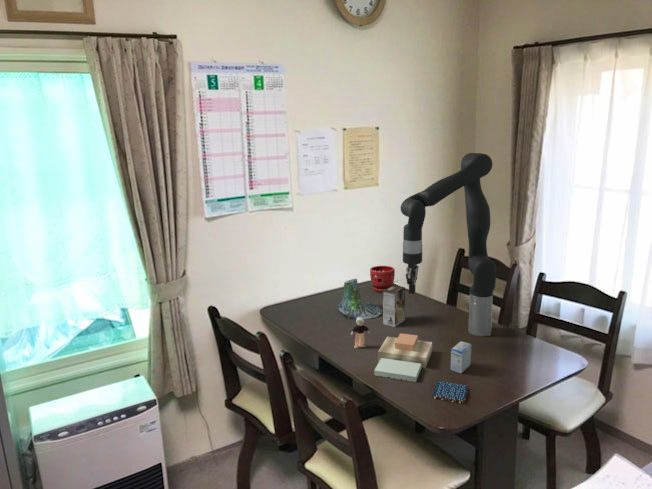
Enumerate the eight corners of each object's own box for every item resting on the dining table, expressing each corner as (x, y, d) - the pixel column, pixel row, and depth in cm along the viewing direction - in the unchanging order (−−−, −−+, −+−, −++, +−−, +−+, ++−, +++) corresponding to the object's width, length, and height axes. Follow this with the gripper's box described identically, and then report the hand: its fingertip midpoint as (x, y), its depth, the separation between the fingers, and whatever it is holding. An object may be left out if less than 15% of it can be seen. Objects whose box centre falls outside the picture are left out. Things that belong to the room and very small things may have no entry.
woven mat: (465, 406, 157) (465, 400, 157) (432, 400, 161) (432, 394, 161) (469, 390, 167) (469, 384, 166) (437, 384, 171) (437, 379, 170)
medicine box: (459, 362, 185) (460, 340, 183) (470, 365, 182) (471, 343, 180) (450, 370, 179) (450, 348, 177) (461, 374, 176) (462, 351, 174)
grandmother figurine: (353, 350, 198) (352, 320, 195) (350, 346, 201) (349, 316, 198) (371, 347, 200) (371, 317, 196) (368, 343, 203) (367, 314, 200)
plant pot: (399, 290, 265) (399, 268, 262) (379, 295, 259) (379, 273, 256) (385, 284, 276) (384, 263, 273) (365, 288, 270) (365, 267, 267)
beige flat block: (432, 351, 194) (432, 342, 193) (425, 368, 181) (425, 358, 180) (387, 345, 200) (387, 336, 199) (378, 361, 188) (378, 351, 187)
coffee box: (392, 317, 229) (392, 284, 225) (405, 320, 225) (405, 287, 221) (382, 324, 222) (382, 290, 218) (395, 327, 218) (395, 293, 214)
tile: (417, 341, 194) (417, 335, 193) (413, 351, 186) (413, 345, 185) (400, 339, 197) (400, 333, 196) (394, 348, 188) (394, 342, 188)
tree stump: (371, 324, 223) (360, 285, 220) (333, 326, 235) (322, 289, 232) (389, 308, 238) (379, 271, 236) (352, 311, 250) (343, 276, 247)
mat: (421, 368, 181) (421, 363, 180) (415, 381, 172) (415, 376, 171) (381, 362, 186) (381, 358, 186) (374, 375, 177) (374, 370, 177)
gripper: (418, 255, 184) (418, 299, 189) (425, 246, 197) (424, 288, 201) (399, 254, 187) (398, 297, 191) (406, 245, 199) (406, 286, 203)
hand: (412, 292), depth 196 cm, fingers closed
